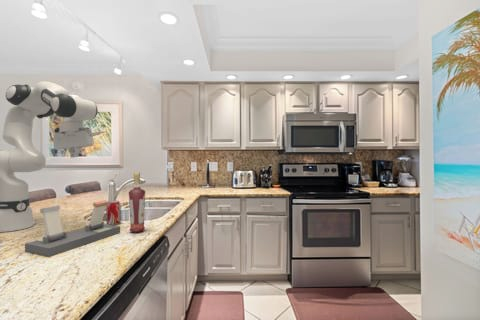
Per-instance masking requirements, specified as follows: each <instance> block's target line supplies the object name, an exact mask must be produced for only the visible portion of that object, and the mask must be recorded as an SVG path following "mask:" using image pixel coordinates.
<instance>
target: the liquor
mask: <svg viewBox="0 0 480 320" xmlns="http://www.w3.org/2000/svg"><path fill="white" fill-rule="evenodd" d="M140 177H141V172H138V171H137V172H133V179H134V181H133V188H132V189H131V190H130V191H128V205H129V207H128V208H129V219H130V220H129V221H130V224H129V225H130V226H129V231H130V232H132V233H134V234H137V233H142V232H143V231H144V230H145V229H146V227H145V207H146V206H145V205H146V191H145V190H144V189H142V188H141V183H140Z"/></svg>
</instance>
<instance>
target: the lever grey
mask: <svg viewBox="0 0 480 320" xmlns="http://www.w3.org/2000/svg"><path fill="white" fill-rule="evenodd" d="M39 210H40V211H39V212H40V214H42V219H43V223H44V229H45V230H44V231H45V234H46V236H47V237H49V241H53V240H56V239H60V238H63V237H64V233H63V231H64V230H63V226H62V221H61V220H62V219H61V216H60V210H61V206H60V205H54V206H49V207H43V208H40V209H39Z"/></svg>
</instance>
